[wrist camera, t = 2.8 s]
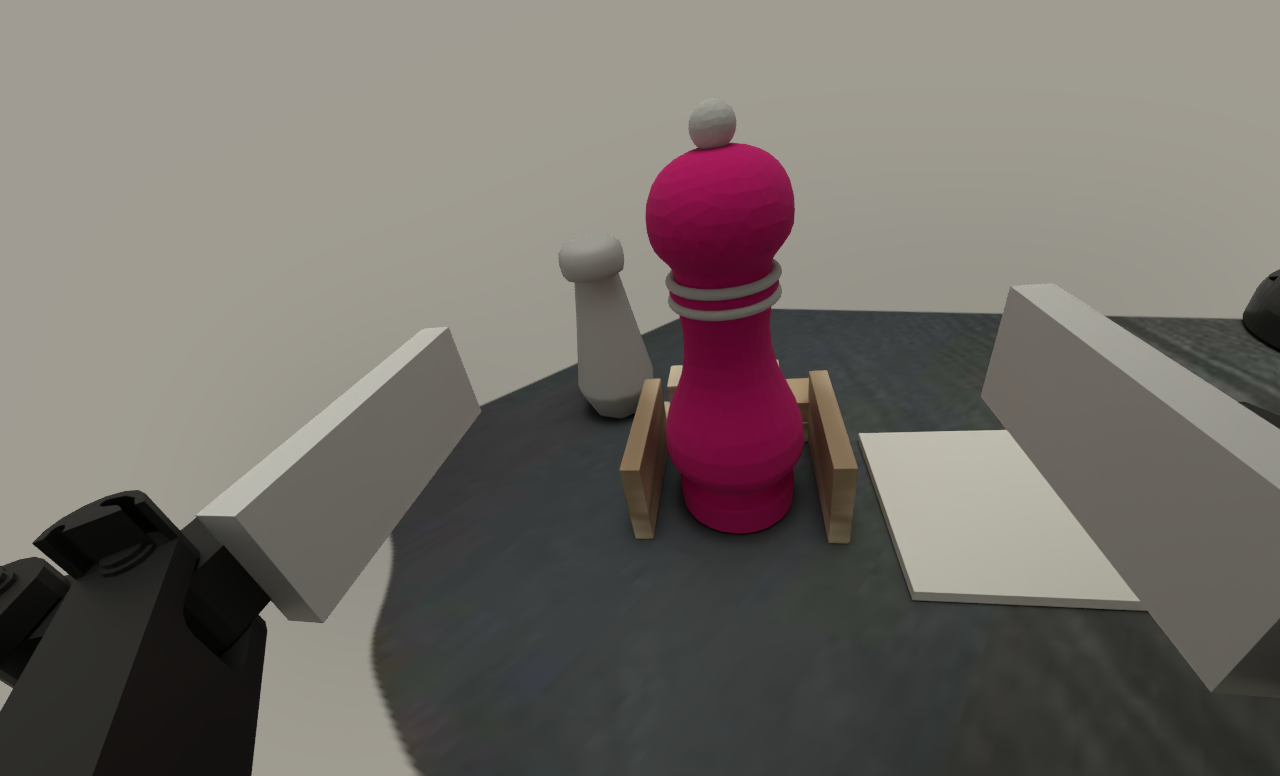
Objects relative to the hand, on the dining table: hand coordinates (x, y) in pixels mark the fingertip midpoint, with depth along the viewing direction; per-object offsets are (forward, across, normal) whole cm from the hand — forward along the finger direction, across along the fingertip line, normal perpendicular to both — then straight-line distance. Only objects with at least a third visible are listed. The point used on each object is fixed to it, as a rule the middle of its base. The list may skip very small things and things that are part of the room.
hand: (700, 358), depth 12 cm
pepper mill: (+10, 0, -15) cm, 18 cm away
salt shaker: (+20, -8, -15) cm, 26 cm away
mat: (+9, +13, -15) cm, 22 cm away
